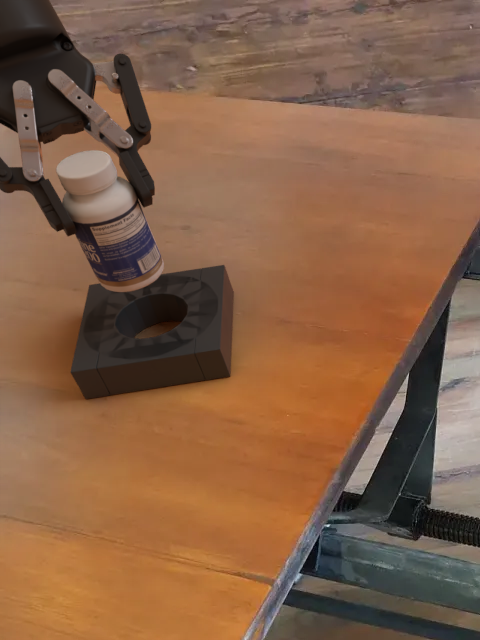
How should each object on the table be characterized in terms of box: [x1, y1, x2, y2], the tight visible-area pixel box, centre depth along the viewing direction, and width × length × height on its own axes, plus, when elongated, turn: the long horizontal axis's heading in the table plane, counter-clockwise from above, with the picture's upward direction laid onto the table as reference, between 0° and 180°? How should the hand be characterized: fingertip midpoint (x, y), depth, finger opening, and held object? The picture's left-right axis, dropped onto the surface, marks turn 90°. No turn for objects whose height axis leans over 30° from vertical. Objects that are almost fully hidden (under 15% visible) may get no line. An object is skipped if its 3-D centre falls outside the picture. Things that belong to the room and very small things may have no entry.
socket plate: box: [70, 264, 235, 400], centre depth 77 cm, size 12×12×3 cm
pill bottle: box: [55, 149, 165, 292], centre depth 69 cm, size 5×5×10 cm
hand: (110, 216), depth 67 cm, fingers closed on pill bottle, 5 cm apart
